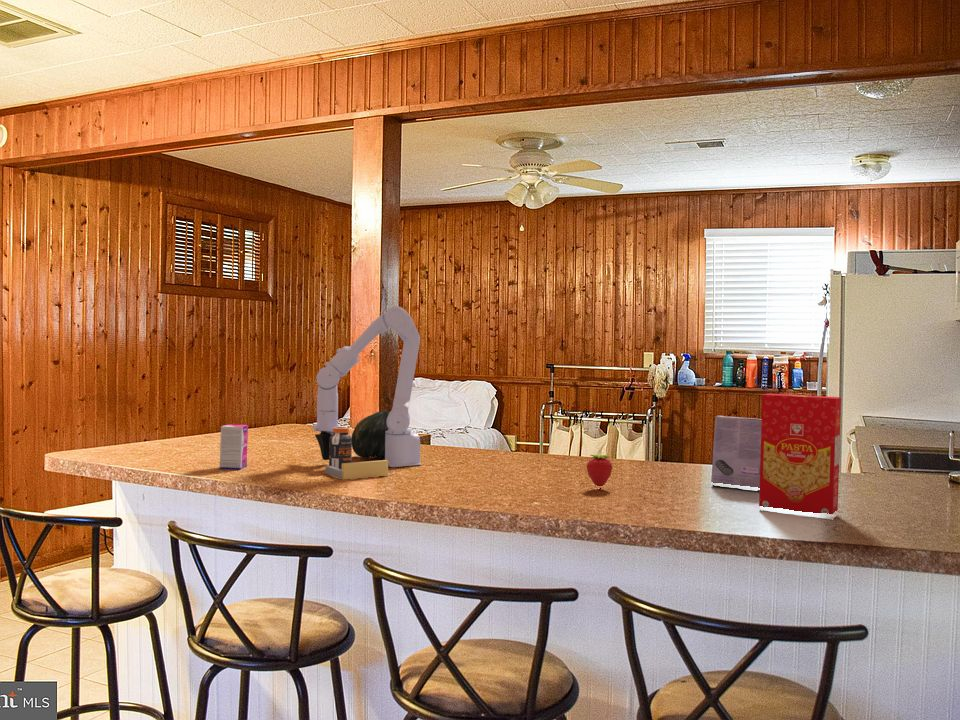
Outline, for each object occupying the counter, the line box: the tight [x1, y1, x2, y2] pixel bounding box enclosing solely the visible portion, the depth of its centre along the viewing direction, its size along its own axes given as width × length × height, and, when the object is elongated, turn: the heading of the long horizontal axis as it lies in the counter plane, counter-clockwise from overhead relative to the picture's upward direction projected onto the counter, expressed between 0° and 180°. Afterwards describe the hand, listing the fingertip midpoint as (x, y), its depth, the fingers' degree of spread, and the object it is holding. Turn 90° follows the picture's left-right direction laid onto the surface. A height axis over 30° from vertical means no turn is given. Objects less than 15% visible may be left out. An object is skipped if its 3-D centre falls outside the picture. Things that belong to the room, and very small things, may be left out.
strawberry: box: [586, 449, 613, 487], centre depth 195 cm, size 6×8×10 cm
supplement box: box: [219, 423, 249, 471], centre depth 216 cm, size 6×6×12 cm
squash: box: [351, 410, 390, 460], centre depth 238 cm, size 14×15×15 cm
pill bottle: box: [328, 426, 353, 470], centre depth 217 cm, size 6×6×11 cm
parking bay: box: [324, 459, 389, 481], centre depth 209 cm, size 12×11×4 cm
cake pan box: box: [710, 415, 762, 488], centre depth 198 cm, size 19×5×18 cm, turn 59°
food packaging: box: [758, 393, 842, 514], centre depth 171 cm, size 15×5×25 cm, turn 56°
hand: (327, 459), depth 225 cm, fingers closed
